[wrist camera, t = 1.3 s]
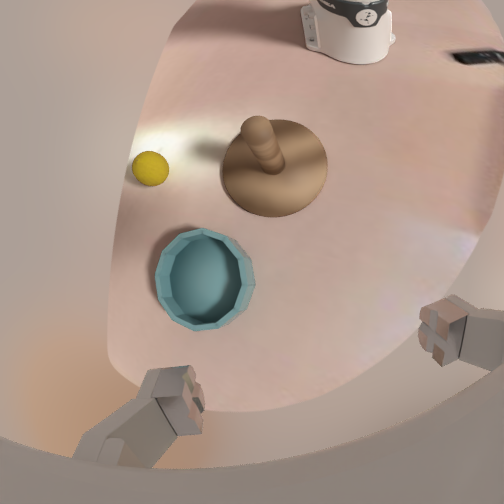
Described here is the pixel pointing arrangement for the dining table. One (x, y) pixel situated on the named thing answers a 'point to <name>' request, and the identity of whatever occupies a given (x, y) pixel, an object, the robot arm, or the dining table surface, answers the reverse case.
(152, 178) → the lemon
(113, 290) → the dining table surface
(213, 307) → the bowl
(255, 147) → the lid
